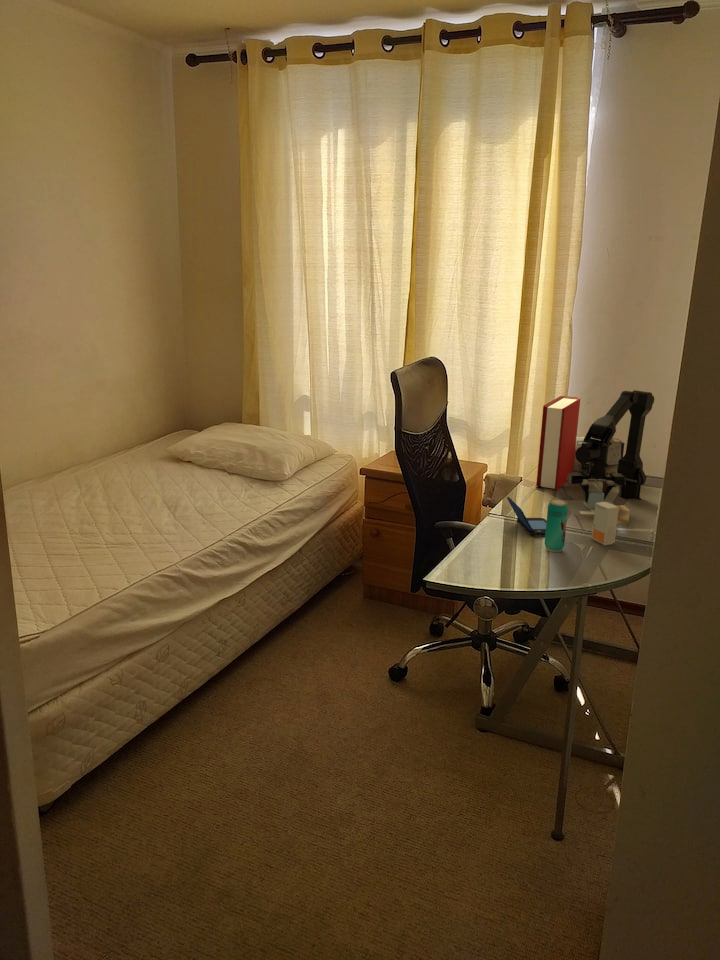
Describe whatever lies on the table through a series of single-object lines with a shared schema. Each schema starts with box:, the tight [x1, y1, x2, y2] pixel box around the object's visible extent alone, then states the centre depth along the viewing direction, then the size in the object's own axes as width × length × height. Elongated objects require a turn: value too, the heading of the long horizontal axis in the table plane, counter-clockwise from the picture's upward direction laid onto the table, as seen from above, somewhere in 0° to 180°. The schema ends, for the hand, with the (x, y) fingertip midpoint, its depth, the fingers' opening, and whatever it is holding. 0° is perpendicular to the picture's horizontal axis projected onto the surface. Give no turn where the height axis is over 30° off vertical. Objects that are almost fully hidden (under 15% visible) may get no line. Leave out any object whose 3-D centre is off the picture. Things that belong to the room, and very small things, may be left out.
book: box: [535, 395, 581, 491], centre depth 292 cm, size 27×8×32 cm, turn 152°
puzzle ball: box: [573, 435, 589, 473], centre depth 309 cm, size 15×15×15 cm
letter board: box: [563, 499, 616, 517], centre depth 261 cm, size 18×18×1 cm
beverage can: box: [544, 498, 569, 553], centre depth 220 cm, size 6×6×15 cm
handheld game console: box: [506, 496, 547, 538], centre depth 239 cm, size 16×13×9 cm
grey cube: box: [585, 488, 605, 507], centre depth 259 cm, size 5×5×5 cm
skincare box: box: [591, 502, 619, 546], centre depth 228 cm, size 6×4×12 cm
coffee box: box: [600, 438, 625, 479], centre depth 298 cm, size 9×6×16 cm
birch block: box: [615, 504, 630, 525], centre depth 246 cm, size 6×6×6 cm
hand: (593, 502), depth 260 cm, fingers closed on grey cube, 5 cm apart
